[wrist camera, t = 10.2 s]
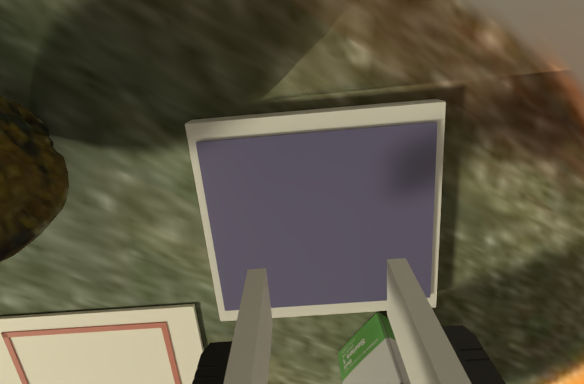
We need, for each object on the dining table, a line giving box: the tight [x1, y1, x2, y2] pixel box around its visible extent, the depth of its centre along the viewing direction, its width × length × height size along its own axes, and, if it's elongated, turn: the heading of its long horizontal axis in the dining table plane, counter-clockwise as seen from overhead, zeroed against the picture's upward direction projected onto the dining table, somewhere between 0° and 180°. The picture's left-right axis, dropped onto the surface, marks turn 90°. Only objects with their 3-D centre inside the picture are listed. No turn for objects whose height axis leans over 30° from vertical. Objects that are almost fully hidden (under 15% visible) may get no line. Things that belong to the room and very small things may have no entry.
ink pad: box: [185, 99, 446, 321], centre depth 24 cm, size 13×14×2 cm
